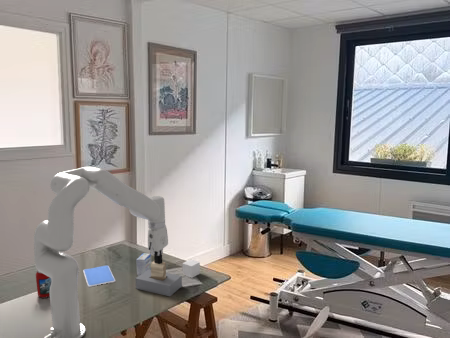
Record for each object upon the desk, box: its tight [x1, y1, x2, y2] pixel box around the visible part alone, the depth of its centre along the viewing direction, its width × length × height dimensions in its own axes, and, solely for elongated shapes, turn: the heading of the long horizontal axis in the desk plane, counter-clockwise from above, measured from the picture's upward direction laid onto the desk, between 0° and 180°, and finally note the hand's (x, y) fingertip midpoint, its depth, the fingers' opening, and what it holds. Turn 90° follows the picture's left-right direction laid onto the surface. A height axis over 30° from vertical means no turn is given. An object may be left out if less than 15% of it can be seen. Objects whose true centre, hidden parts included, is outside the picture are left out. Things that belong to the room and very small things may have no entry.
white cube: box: [181, 259, 201, 279], centre depth 202 cm, size 6×6×6 cm
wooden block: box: [151, 260, 167, 281], centre depth 188 cm, size 3×6×12 cm, turn 66°
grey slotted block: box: [135, 269, 183, 297], centre depth 189 cm, size 10×18×5 cm, turn 66°
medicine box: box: [135, 252, 152, 277], centre depth 203 cm, size 8×4×9 cm, turn 168°
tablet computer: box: [82, 265, 116, 288], centre depth 201 cm, size 19×13×1 cm, turn 26°
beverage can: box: [35, 269, 52, 299], centre depth 182 cm, size 7×7×12 cm
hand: (158, 262), depth 187 cm, fingers closed
